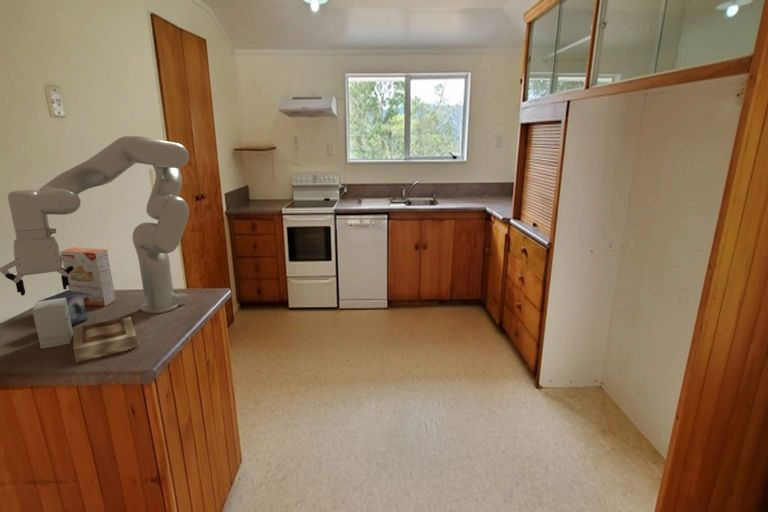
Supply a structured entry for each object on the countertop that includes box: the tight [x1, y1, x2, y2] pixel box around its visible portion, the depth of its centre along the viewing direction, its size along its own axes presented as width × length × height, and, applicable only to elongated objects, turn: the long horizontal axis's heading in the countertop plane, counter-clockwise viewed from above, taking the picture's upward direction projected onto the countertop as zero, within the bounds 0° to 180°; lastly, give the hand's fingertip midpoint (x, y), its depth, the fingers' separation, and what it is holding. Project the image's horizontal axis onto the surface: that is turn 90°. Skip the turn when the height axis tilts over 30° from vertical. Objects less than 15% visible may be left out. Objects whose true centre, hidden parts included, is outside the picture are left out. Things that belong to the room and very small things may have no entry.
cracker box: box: [60, 246, 117, 308], centre depth 152 cm, size 14×6×21 cm, turn 82°
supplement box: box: [31, 298, 74, 350], centre depth 124 cm, size 7×7×13 cm
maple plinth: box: [72, 316, 139, 363], centre depth 124 cm, size 15×16×5 cm
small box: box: [37, 289, 88, 328], centre depth 135 cm, size 11×6×10 cm, turn 168°
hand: (44, 291), depth 121 cm, fingers open, 9 cm apart
